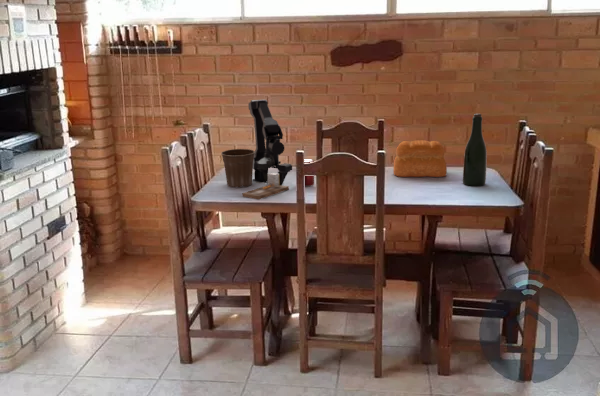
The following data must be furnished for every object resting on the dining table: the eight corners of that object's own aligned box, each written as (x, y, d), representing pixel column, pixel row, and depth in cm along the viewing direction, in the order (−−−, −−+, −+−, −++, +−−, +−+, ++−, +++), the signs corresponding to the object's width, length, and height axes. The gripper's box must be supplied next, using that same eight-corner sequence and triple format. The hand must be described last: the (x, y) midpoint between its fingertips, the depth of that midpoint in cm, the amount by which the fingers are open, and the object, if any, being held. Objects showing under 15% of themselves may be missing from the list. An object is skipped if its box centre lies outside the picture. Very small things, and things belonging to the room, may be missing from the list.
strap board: (272, 186, 294) (272, 183, 293) (288, 189, 288) (288, 186, 287) (242, 196, 278) (242, 192, 277) (259, 199, 272) (259, 195, 271)
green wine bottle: (489, 183, 290) (493, 113, 282) (478, 187, 283) (482, 115, 274) (469, 180, 297) (472, 111, 289) (458, 184, 290) (461, 114, 281)
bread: (392, 170, 321) (393, 138, 317) (443, 170, 319) (445, 137, 314) (394, 177, 306) (394, 143, 302) (447, 177, 304) (449, 143, 299)
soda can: (316, 183, 298) (315, 159, 295) (311, 187, 291) (311, 162, 288) (302, 182, 300) (301, 158, 297) (297, 186, 293) (296, 161, 290)
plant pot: (249, 189, 290) (248, 155, 285) (217, 188, 294) (215, 154, 290) (260, 181, 305) (259, 149, 301) (230, 180, 309) (228, 148, 305)
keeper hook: (278, 184, 291) (278, 174, 290) (285, 185, 289) (284, 175, 288) (275, 185, 289) (274, 175, 288) (281, 186, 287) (281, 176, 286)
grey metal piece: (272, 185, 289) (271, 172, 287) (278, 186, 286) (278, 173, 285) (260, 189, 282) (259, 176, 281) (267, 190, 280) (266, 177, 278)
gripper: (245, 151, 281) (246, 185, 285) (277, 155, 270) (278, 190, 274) (261, 148, 290) (262, 180, 294) (292, 151, 279) (293, 185, 283)
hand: (273, 184), depth 286 cm, fingers open, 9 cm apart
